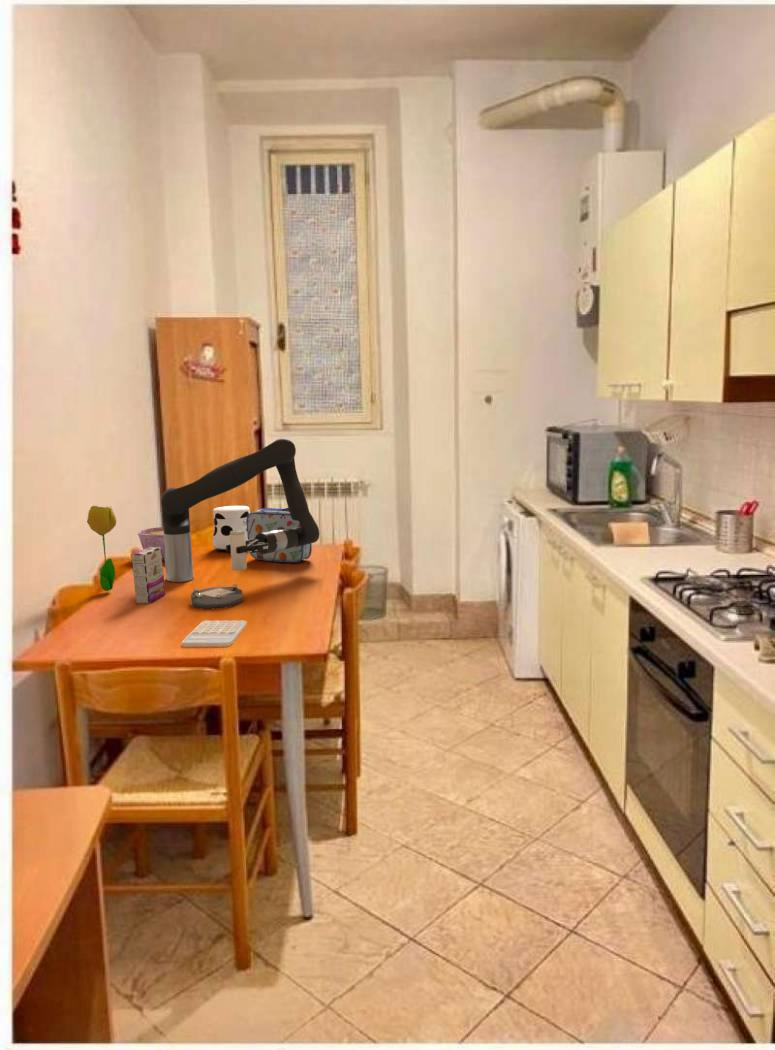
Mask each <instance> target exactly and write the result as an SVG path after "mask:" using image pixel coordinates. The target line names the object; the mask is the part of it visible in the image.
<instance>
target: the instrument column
mask: <svg viewBox="0 0 775 1050" xmlns="http://www.w3.org/2000/svg"><path fill="white" fill-rule="evenodd" d="M230 545H231V551H230V559H231V560H230V561H231V564H230V565H231V570H232V571H243V570H244V571H245V570H247V569H248V567H247V563H248V562H247V552H245V553H240V554H238V553H236V548H237V547H240V546H246V542H245V531H244V530H234V531H230Z"/></svg>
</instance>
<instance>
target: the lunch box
mask: <svg viewBox="0 0 775 1050" xmlns="http://www.w3.org/2000/svg"><path fill="white" fill-rule="evenodd" d="M246 524H247V534H248V540H249V539H255V537H256V535H257V534H258V533H262V532H268V531H273V530H283V529H292V528H296V527H300V526H301V524H300V523H299V521H296V520H293V519H292V518H291V515H290V512H289V508H288V507H286V508H285V507H284V508H276V507H275V508H273V507H264V508H263V507H262V508H259V509H257V510H254V511H252V512H251V511H250V513H249V514H248V516H247V519H246ZM312 544H313V543H311V544H307V545H302V546H296V547H292V548H288V549H283V550H280V551H277V552H272V553H267V554H260V553H259V552H256V553H252V552H249V555H250V556H251V557H252V558H253V559H256V560H260V561H266V562H272V561H273V562H274V563H290V564H291V563H292V564H293V563H300V562H301V560H302V561H304V559H305V560H307V559H309V558H310V557H311V556H312V549H313V548H312V547H313V546H312Z"/></svg>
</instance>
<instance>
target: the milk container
mask: <svg viewBox="0 0 775 1050" xmlns="http://www.w3.org/2000/svg"><path fill="white" fill-rule="evenodd" d="M250 510H251V509H250V507H249V506H247V505H227V506H219V507H215V508H213V514H212V516H213V519H212V520H213V534H212V544H213V548H214V549H216V550H218V551H220V552H221V551H223V552H227V551H226V545H230V531H234V530H244V531H245V540H248V534H247V524H246V519H247V516H248V514H249V513H251V511H250Z"/></svg>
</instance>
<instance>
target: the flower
mask: <svg viewBox="0 0 775 1050" xmlns="http://www.w3.org/2000/svg"><path fill="white" fill-rule="evenodd" d="M87 514H88V515H87V521H86V522H87V524H88V526H89V528H90V530H92V531H93V532H95V533H96V534H97V535H99V536H102V545H103V555H104V564H102V566H101V568H100V570H99V583H100V586H101V588H102V589H101V590H104V591H105V592H107V591H108V592H109V591H110V590H113V587H114V582H115V578H116V569H115V565H114V563H113V559H112V558H108V559H107V556H106V543H105V535H106V534H108V533H110V532H111V531H112V530H113V529H114V528H115V527H116V525H117V518H116V515H115V512H114V510H113V508H112V506H110V507H109V506H106V507H104V506H97V505H93V506H91V507H90V508H89V510H88V513H87Z"/></svg>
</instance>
